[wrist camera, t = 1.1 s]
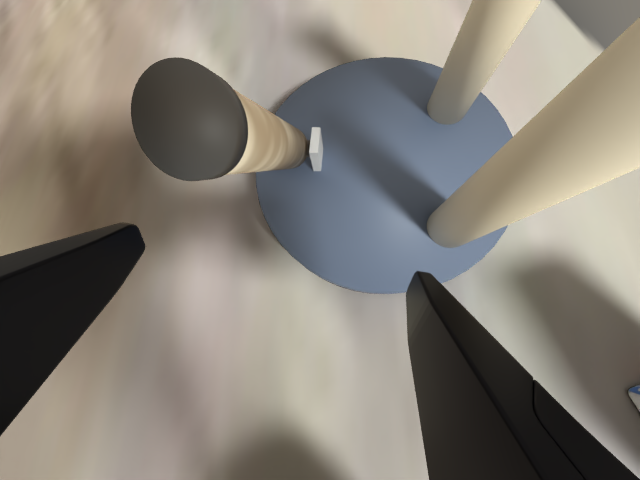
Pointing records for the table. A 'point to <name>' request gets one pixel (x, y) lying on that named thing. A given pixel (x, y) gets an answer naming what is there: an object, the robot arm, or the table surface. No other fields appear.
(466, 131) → the round peg stand
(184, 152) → the hinged leg
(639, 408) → the ink cartridge box
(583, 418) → the table surface
